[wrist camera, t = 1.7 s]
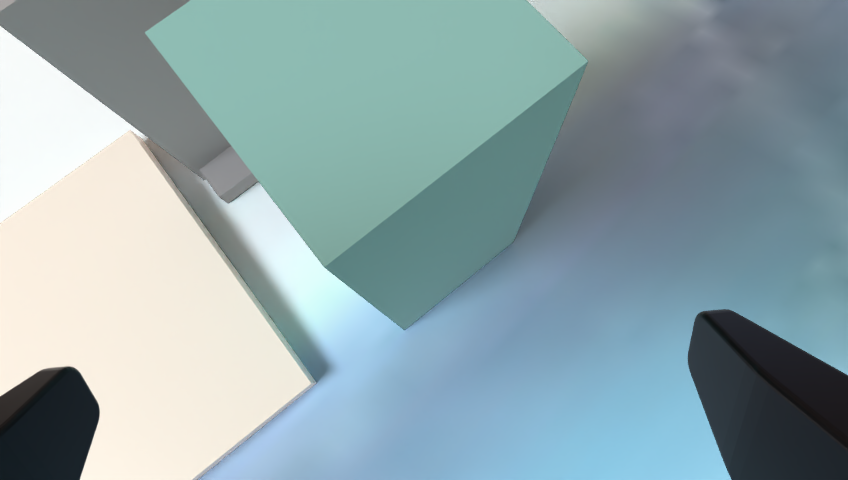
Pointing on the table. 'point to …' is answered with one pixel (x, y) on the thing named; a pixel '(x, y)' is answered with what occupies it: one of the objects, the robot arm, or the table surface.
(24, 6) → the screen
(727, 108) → the table surface
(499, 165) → the teal block
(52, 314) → the pad
